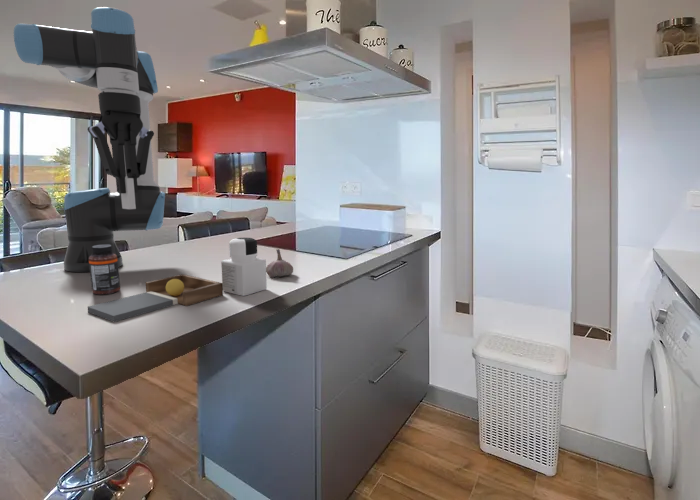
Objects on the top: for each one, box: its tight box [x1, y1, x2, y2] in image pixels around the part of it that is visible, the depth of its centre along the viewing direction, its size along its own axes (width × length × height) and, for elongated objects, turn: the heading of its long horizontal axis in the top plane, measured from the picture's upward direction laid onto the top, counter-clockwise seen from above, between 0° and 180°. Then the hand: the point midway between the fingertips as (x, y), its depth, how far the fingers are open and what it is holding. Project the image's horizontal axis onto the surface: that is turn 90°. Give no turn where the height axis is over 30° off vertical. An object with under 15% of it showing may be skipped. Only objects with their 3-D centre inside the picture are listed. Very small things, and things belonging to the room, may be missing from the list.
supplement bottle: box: [89, 245, 121, 296], centre depth 101 cm, size 6×6×11 cm
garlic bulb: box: [266, 248, 294, 278], centre depth 119 cm, size 8×7×8 cm
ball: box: [166, 279, 184, 296], centre depth 98 cm, size 4×4×4 cm
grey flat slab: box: [87, 291, 179, 323], centre depth 90 cm, size 10×14×1 cm
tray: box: [145, 273, 224, 307], centre depth 100 cm, size 15×10×3 cm, turn 57°
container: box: [221, 237, 268, 297], centre depth 103 cm, size 8×8×13 cm
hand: (129, 208), depth 91 cm, fingers closed
